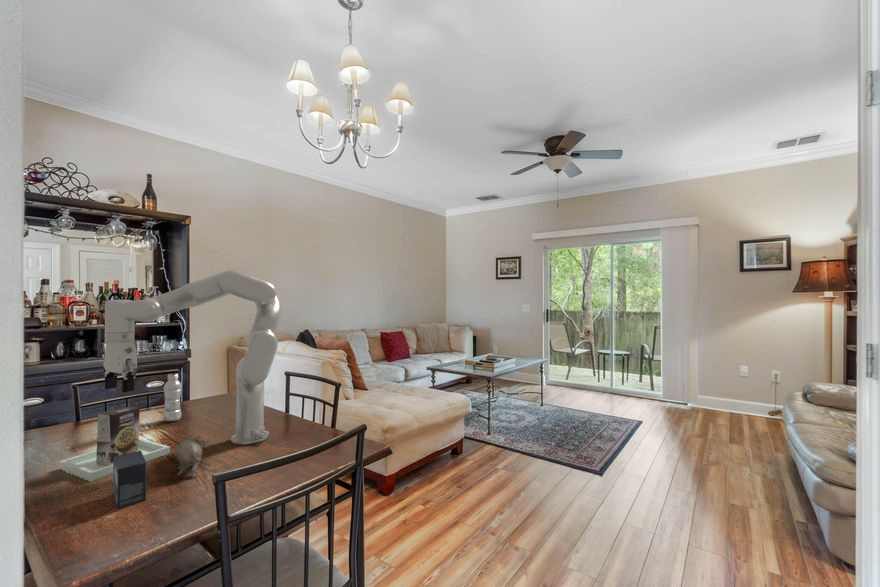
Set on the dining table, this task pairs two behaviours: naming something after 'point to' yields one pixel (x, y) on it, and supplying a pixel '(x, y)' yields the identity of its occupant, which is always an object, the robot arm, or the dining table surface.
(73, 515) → the dining table surface
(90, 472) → the tray
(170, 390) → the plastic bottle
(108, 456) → the coffee box
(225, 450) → the dining table surface
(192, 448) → the rhinoceros figurine
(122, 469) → the small box
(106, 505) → the dining table surface
